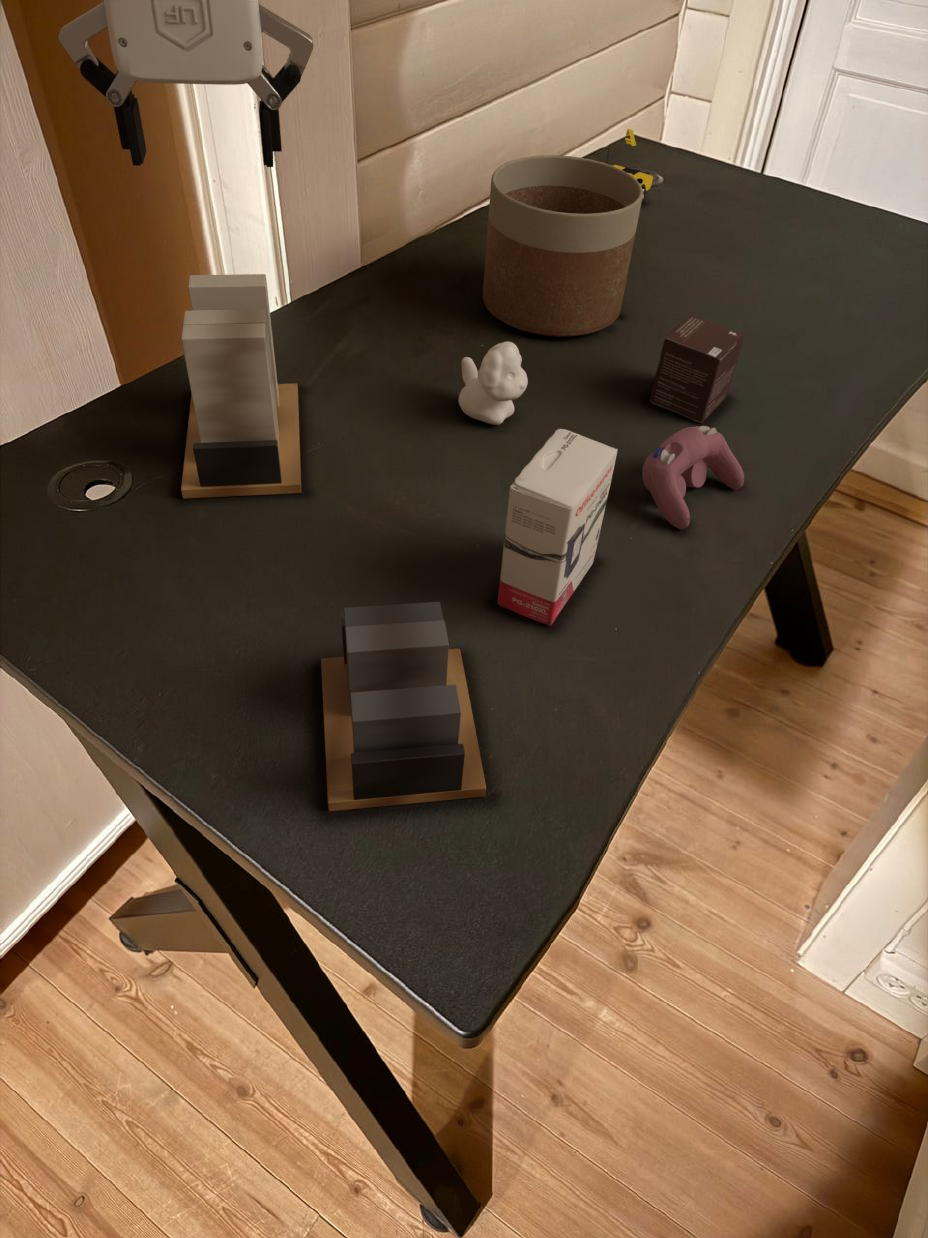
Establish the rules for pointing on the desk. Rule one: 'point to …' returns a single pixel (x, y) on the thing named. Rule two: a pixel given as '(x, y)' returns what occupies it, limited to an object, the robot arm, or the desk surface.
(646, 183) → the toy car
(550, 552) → the ink box
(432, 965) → the desk surface
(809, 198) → the desk surface
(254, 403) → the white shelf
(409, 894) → the desk surface
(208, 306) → the white book
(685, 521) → the video game controller
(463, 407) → the figurine
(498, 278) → the planter
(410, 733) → the grey shelf
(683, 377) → the box
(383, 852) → the desk surface
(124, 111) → the robot arm
